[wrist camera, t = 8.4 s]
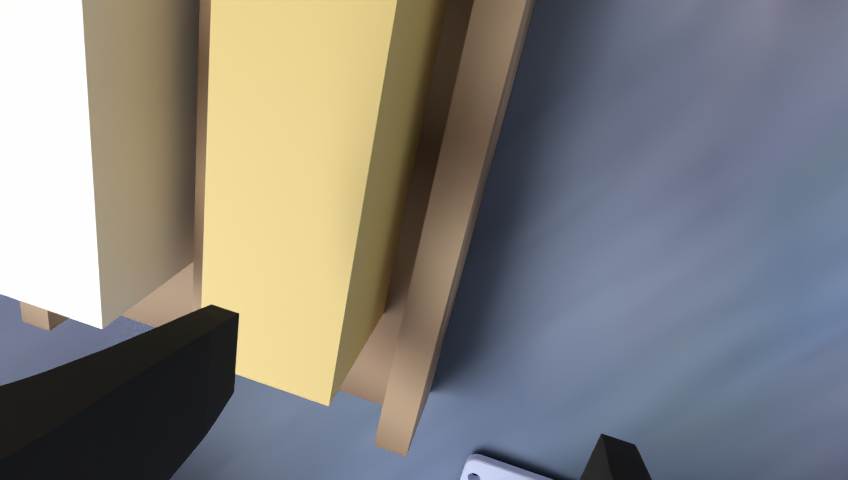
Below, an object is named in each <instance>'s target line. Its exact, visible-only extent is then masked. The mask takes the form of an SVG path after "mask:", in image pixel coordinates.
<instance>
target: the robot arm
mask: <svg viewBox="0 0 848 480" xmlns="http://www.w3.org/2000/svg"><path fill="white" fill-rule="evenodd" d="M238 326H239V313H236V312H233V311H230V310H227V309H224V308H221V307H218V306H215V305H212V304H211V305H208V306H206V307H203V308H201V309H198V310H196V311H193V312H191V313H189V314H186V315H184V316H182V317H179V318H177V319H175V320H173V321H170V322H168V323H166V324H163V325H161V326H159V327H157V328H154V329H152V330H150V331H147V332H145V333H142V334H140V335H138V336H135V337H133V338H131V339H128V340H126V341H123V342H121V343H119V344H116V345H114V346H112V347H109V348H107V349H104V350H102V351H99V352H96V353H94V354H91V355H88V356H86V357H83V358H80V359H78V360H75V361H72V362H70V363H67V364H64V365H62V366H59V367H56V368H54V369H51V370H49V371H46V372H43V373H40V374H37V375H34V376H31V377H28V378H25V379H22V380H19V381H16V382H12V383H9V384H6V385H2V386H0V480H169V479H170V478H171V477H172V476H173V474H174V473H175V472H176V471H177V470H178V468H179V467H180V466H181V465H182V464H183V462H184V461H185V460H186V459H187V458H188V456H189V455H190V454H191V453H192V452H193V450H194V449H195V448H196V447H197V446H198V444H199V443H200V442H201V441H202V440H203V438H204V437H205V436H206V434H207V433H208V431H209V430H210V429H211V427H212V426H213V424H214V423H215V421H216V420H217V418H218V417H219V415H220V413H221V412H222V410H223V409H224V407H225V405H226V404H227V402H228V401H229V399H230V398H231V396H232V394H233V393H234V384H235V369H236V355H237V340H238ZM471 473H475V474H477V475H478V476H476V475H473V474H471ZM460 480H553V479H550V478H547V477H544V476H541V475H538V474H535V473H533V472H530V471H527V470H524V469H521V468H518V467H515V466H512V465H509V464H506V463H504V462H501V461H498V460H495V459H492V458H489V457H486V456H483V455H480V454H472V455H470V456H468V458H467V460H466V463H465V466H464V469H463V472H462V475H461V478H460ZM580 480H652V479H651V477H650V475H649V473H648V471H647V468H646V466H645V464H644V462H643V460H642V458H641V455H640V453H639V451H638V449H637V447H636V446H635V445H634V444H631V443H628V442H625V441H622V440H619V439H616V438H613V437H610V436H607V435H604V434H601V436H600V438H599V440H598V442H597V444H596V446H595V448H594V451H593V453H592V455H591V457H590V459H589V461H588V463H587V466H586V468H585V470H584V472H583V474H582V476H581V478H580Z"/></svg>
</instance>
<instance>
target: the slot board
mask: <svg viewBox="0 0 848 480" xmlns="http://www.w3.org/2000/svg"><path fill="white" fill-rule="evenodd" d="M535 1H536V0H448V1H447V6H446V11H445V16H444V21H443V26H442V31H441V36H440V40H439V45H438V50H437V55H436V60H435V65H434V70H433V74H432V79H431V84H430V89H429V94H428V99H427V104H426V109H425V113H424V118H423V123H422V128H421V133H420V138H419V143H418V148H417V152H416V157H415V162H414V167H413V172H412V177H411V182H410V186H409V191H408V196H407V201H406V206H405V211H404V216H403V221H402V225H401V230H400V235H399V240H398V245H397V250H396V255H395V260H394V264H393V269H392V274H391V279H390V284H389V289H388V294H387V298H386V303H385V308H384V313H383V315H382V317H381V319H380V320H379V322H378V324H377V325H376V327H375V329H374V330H373V332H372V334H371V336H370V337H369V339H368V341H367V342H366V344H365V346H364V347H363V349H362V351H361V352H360V354H359V356H358V358H357V359H356V361H355V363H354V364H353V366H352V368H351V369H350V371H349V373H348V375H347V376H346V378H345V380H344V381H343V383H342V385H341V386H340V388H339V390H340V391H343V392H346V393H349V394H352V395H355V396H358V397H360V398H363V399H366V400H369V401H372V402H375V403H378V404H381V405H383V408H382V412H381V416H380V421H379V425H378V430H377V434H376V439H375V443H374V445H375V446H378V447H381V448H384V449H387V450H389V451H392V452H395V453H398V454H401V455H404V456H407V453H408V450H409V448H410V445H411V442H412V440H413V437H414V434H415V431H416V429H417V426H418V423H419V421H420V418H421V415H422V412H423V410H424V407H425V404H426V402H427V399H428V396H429V393H430V390H431V386H432V383H433V379H434V375H435V371H436V368H437V364H438V360H439V357H440V353H441V349H442V346H443V342H444V338H445V334H446V331H447V327H448V323H449V320H450V316H451V312H452V309H453V305H454V301H455V297H456V294H457V290H458V286H459V283H460V279H461V275H462V271H463V268H464V264H465V260H466V257H467V253H468V249H469V246H470V242H471V238H472V234H473V231H474V227H475V223H476V220H477V216H478V212H479V209H480V205H481V201H482V197H483V194H484V190H485V186H486V183H487V179H488V175H489V172H490V168H491V164H492V160H493V157H494V153H495V149H496V146H497V142H498V138H499V134H500V131H501V127H502V123H503V120H504V116H505V112H506V109H507V105H508V101H509V97H510V94H511V90H512V86H513V83H514V79H515V75H516V72H517V68H518V64H519V60H520V57H521V53H522V49H523V46H524V42H525V38H526V34H527V31H528V27H529V23H530V20H531V16H532V12H533V9H534V5H535ZM210 19H211V0H200V14H199V55H198V97H197V139H196V181H195V222H194V262H192V263H191V264H190V265H188V266H187V267H186V268H184V269H183V270H182V271H180V272H179V273H177V274H176V275H175V276H173V277H172V278H171V279H169V280H168V281H167V282H165V283H164V284H163V285H161V286H160V287H159V288H157V289H156V290H155V291H153V292H152V293H151V294H149V295H148V296H146V297H145V298H144V299H142V300H141V301H140V302H138V303H137V304H136V305H134V306H133V307H132V308H130V309H129V310H128V311H126V312H125V313H124V314H122V315H121V316H124V317H127V318H130V319H132V320H135V321H138V322H141V323H144V324H147V325H150V326H153V327H156V328H157V327H159V326H161V325H163V324H166V323H168V322H170V321H173V320H175V319H177V318H179V317H182V316H184V315H186V314H189V313H191V312H193V311H196V310H198V309H201V300H202V269H203V238H204V206H205V175H206V144H207V113H208V81H209V50H210ZM20 306H21V313H22V320H23V322H26V323H29V324H32V325H35V326H37V327H40V328H43V329H46V330H49V331H50V330H52V329H53V328H55V327H56V326H58V325H59V324H61V323H62V322H64V321H65V320H67V319H68V318H69V317H66V316H63V315H60V314H57V313H54V312H51V311H48V310H46V309H43V308H40V307H37V306H34V305H31V304H28V303H25V302H22V301H20Z"/></svg>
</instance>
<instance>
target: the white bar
mask: <svg viewBox="0 0 848 480" xmlns="http://www.w3.org/2000/svg"><path fill="white" fill-rule="evenodd" d="M199 14H200V0H0V294H2V295H5V296H8V297H11V298H14V299H17V300H20V301H22V302H25V303H28V304H31V305H34V306H37V307H40V308H43V309H46V310H48V311H51V312H54V313H57V314H60V315H63V316H66V317H69V318H71V319H74V320H77V321H80V322H83V323H86V324H89V325H92V326H94V327H97V328H100V329H103V328H105V327H106V326H107V325H109V324H110V323H111V322H113V321H114V320H115V319H117V318H118V317H120V316H121V315H122V314H124V313H125V312H126V311H128V310H129V309H130V308H132V307H133V306H134V305H136V304H137V303H138V302H140V301H141V300H142V299H144V298H145V297H146V296H148V295H149V294H151V293H152V292H153V291H155V290H156V289H157V288H159V287H160V286H161V285H163V284H164V283H165V282H167V281H168V280H169V279H171V278H172V277H173V276H175V275H176V274H177V273H179V272H180V271H182V270H183V269H184V268H186V267H187V266H188V265H190V264H191V263H192V262H194V222H195V181H196V139H197V97H198V55H199Z"/></svg>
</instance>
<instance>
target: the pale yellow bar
mask: <svg viewBox="0 0 848 480" xmlns="http://www.w3.org/2000/svg"><path fill="white" fill-rule="evenodd" d="M447 1H448V0H211V19H210V50H209V81H208V113H207V144H206V175H205V206H204V238H203V269H202V300H201V308H203V307H206V306H208V305H211V304H212V305H215V306H218V307H221V308H224V309H227V310H230V311H233V312H236V313H239V326H238V340H237V355H236V369H235V374H237V375H240V376H243V377H246V378H249V379H252V380H254V381H257V382H260V383H263V384H266V385H269V386H272V387H275V388H278V389H280V390H283V391H286V392H289V393H292V394H295V395H298V396H301V397H304V398H306V399H309V400H312V401H315V402H318V403H321V404H324V405H327V406H329V405H330V403H331V402H332V400H333V398H334V397H335V395H336V393H337V392H338V390H339V388H340V386H341V385H342V383H343V381H344V380H345V378H346V376H347V375H348V373H349V371H350V369H351V368H352V366H353V364H354V363H355V361H356V359H357V358H358V356H359V354H360V352H361V351H362V349H363V347H364V346H365V344H366V342H367V341H368V339H369V337H370V336H371V334H372V332H373V330H374V329H375V327H376V325H377V324H378V322H379V320H380V319H381V317H382V315H383V313H384V308H385V303H386V298H387V294H388V289H389V284H390V279H391V274H392V269H393V264H394V260H395V255H396V250H397V245H398V240H399V235H400V230H401V225H402V221H403V216H404V211H405V206H406V201H407V196H408V191H409V186H410V182H411V177H412V172H413V167H414V162H415V157H416V152H417V148H418V143H419V138H420V133H421V128H422V123H423V118H424V113H425V109H426V104H427V99H428V94H429V89H430V84H431V79H432V74H433V70H434V65H435V60H436V55H437V50H438V45H439V40H440V36H441V31H442V26H443V21H444V16H445V11H446V6H447Z"/></svg>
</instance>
